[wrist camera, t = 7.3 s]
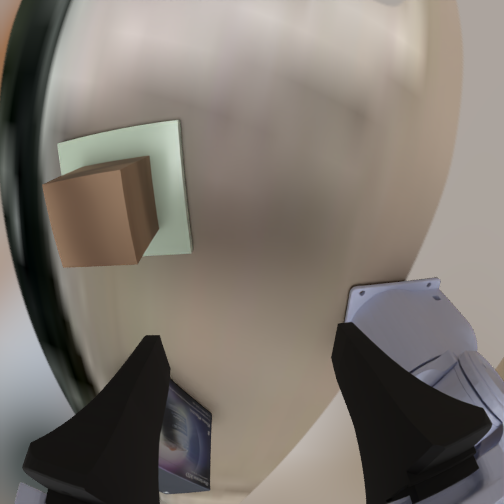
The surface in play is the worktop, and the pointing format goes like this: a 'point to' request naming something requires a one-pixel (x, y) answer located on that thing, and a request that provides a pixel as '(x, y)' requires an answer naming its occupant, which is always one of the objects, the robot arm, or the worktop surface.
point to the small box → (184, 445)
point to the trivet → (162, 169)
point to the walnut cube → (103, 213)
